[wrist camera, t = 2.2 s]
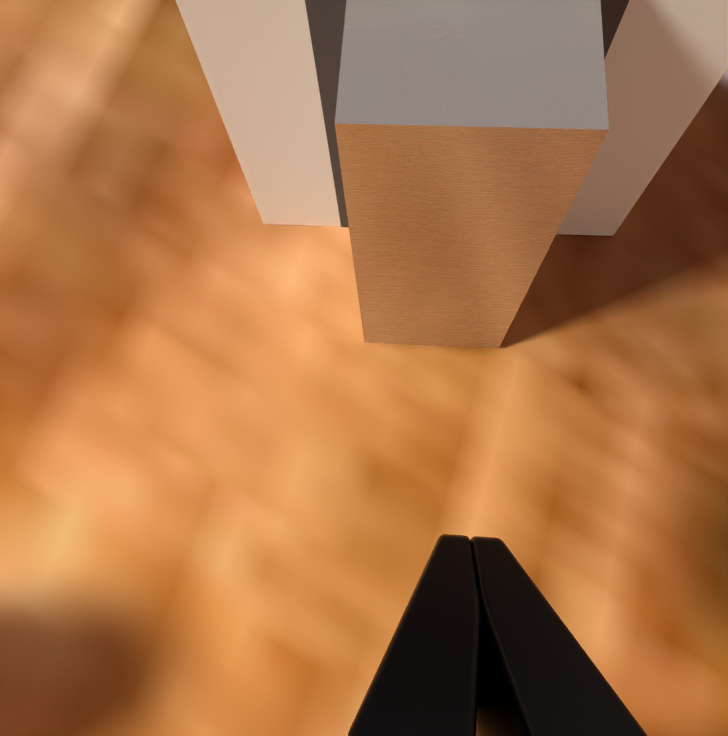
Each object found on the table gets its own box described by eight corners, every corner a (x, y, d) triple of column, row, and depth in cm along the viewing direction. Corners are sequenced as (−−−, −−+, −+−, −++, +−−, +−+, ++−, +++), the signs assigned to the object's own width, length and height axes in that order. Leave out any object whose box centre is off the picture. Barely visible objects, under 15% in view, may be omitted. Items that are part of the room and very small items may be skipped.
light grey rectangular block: (498, 348, 22) (609, 129, 11) (364, 342, 23) (334, 123, 11) (498, 124, 25) (585, -233, 14) (380, 121, 26) (368, -230, 14)
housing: (613, 236, 24) (925, -220, 10) (263, 224, 25) (93, -210, 11) (605, 110, 25) (860, -428, 12) (279, 103, 26) (150, -403, 12)
